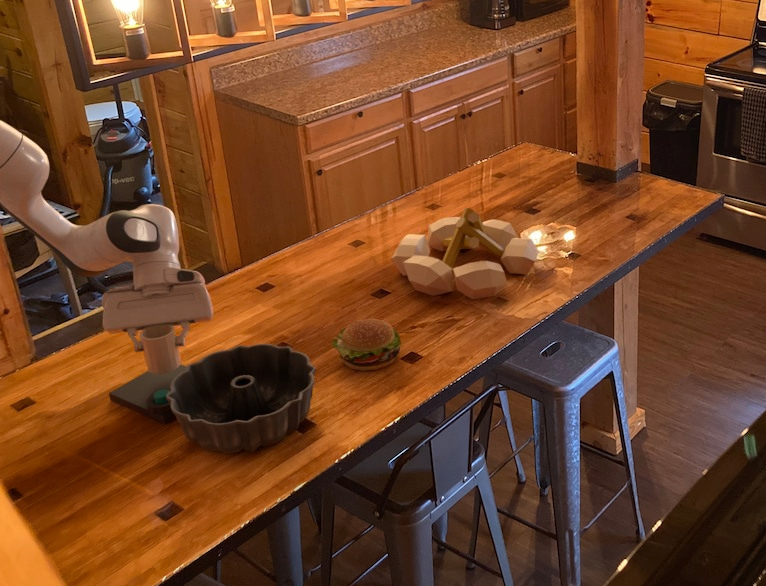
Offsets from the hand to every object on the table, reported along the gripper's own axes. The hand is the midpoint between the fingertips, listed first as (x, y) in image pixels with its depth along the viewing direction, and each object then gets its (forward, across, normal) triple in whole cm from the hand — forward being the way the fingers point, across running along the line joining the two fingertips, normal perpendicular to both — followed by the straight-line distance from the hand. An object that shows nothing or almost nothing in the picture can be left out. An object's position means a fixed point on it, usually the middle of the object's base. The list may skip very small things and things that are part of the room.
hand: (160, 348), depth 189 cm
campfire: (-19, +66, +32) cm, 76 cm away
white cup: (+3, 0, +4) cm, 4 cm away
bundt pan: (+19, +16, -5) cm, 25 cm away
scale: (+8, 0, +5) cm, 10 cm away
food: (+6, +40, +7) cm, 41 cm away
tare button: (+11, 0, -2) cm, 11 cm away
